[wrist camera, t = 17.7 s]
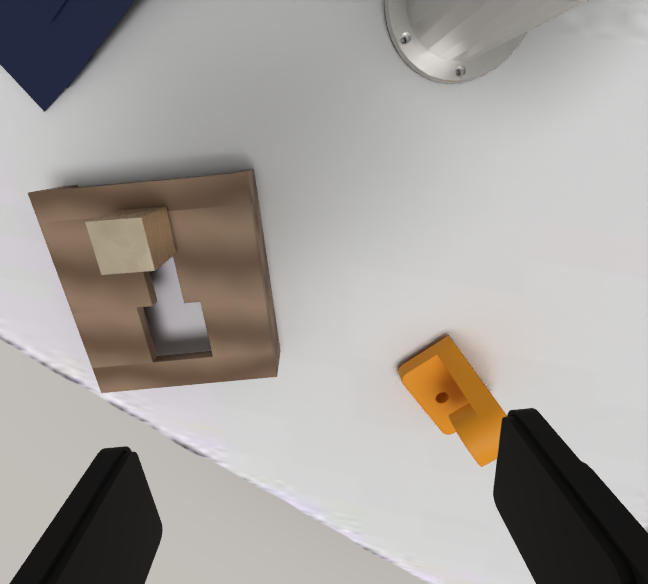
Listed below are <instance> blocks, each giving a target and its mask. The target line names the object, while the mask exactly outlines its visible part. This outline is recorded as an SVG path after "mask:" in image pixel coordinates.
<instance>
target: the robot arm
mask: <svg viewBox="0 0 648 584" xmlns="http://www.w3.org/2000/svg"><path fill="white" fill-rule="evenodd" d="M586 1H588V0H385V16H386V21H387V27H388V31H389V33H390V36H391V39H392V42H393V44H394V46H395V48H396V49H397V51H398V53H399V55H400V56H401V58H402V59H403V60H404V61H405V62H406V63H407V64H408V65H409V67H410V68H412V69H413V70H414V71H416V72H417V73H418V74H420V75H421V76H423V77H425V78H428V79H430V80H432V81H436V82H441V83H462V82H466V81H470V80H474V79H476V78H478V77H481V76H483V75H485V74H487V73H489V72H490V71H492V70H494V69H495V68H497V67H498V66H499V65H500V64H502V63H503V62H504V61H505V60H506V59H507V58H509V56H510V55H511V54H512V53H513V52H514V50H515V49H516V48H517V47H518V46H519V45H520V43H521V41H522V40H523V38H524V37H525V35H526V33H527V32H528V31H529V30H531V29H533V28H535V27H537V26H539V25H541V24H543V23H545V22H547V21H549V20H551V19H552V18H554V17H556V16H558V15H560V14H562V13H564V12H566V11H568V10H570V9H572V8H574V7H576V6H578V5H580V4H582V3H584V2H586ZM401 38H405V39H406V43H405V44H402V43H401ZM456 70H458V71H459V76H457V75H456ZM493 496H494V501H495V504H496V507H497V509H498V511H499V513H500V515H501V517H502V519H503V521H504V523H505V525H506V527H507V528H508V530H509V532H510V534H511V536H512V538H513V540H514V542H515V544H516V546H517V548H518V550H519V552H520V554H521V555H522V557H523V559H524V561H525V563H526V565H527V567H528V569H529V571H530V573H531V575H532V577H533V579H534V581H535V582H536V584H648V533H647V532H646V530H645V529H644V528H643V527H642V526H641V525H640V524H639V522H638V521H637V520H636V519H635V518H634V517H633V516H632V514H631V513H630V512H629V511H628V510H627V509H626V508H625V506H624V505H623V504H622V503H621V502H620V501H619V500H618V498H617V497H616V496H615V495H614V494H613V493H612V492H611V490H610V489H609V488H608V487H607V486H606V485H605V483H604V482H603V481H602V480H601V479H600V478H599V477H598V475H597V474H596V473H595V472H594V471H593V470H592V469H591V468H590V467H589V466H588V465H587V464H586V463H584V462H582V461H580V460H579V458H578V457H577V456H576V455H575V454H574V453H573V451H572V450H571V449H570V448H569V447H568V446H567V444H566V443H565V442H564V441H563V440H562V439H561V437H560V436H559V435H558V434H557V433H556V432H555V430H554V429H553V428H552V427H551V426H550V425H549V423H548V422H547V421H546V420H545V419H544V418H543V416H542V415H541V414H540V413H539V412H538V411H537V410H536V409H534V408H529V409H519V410H510V411H509V412H508V415H507V417H503V418H502V422H501V431H500V439H499V448H498V456H497V465H496V473H495V482H494V490H493ZM161 537H162V523H161V520H160V517H159V514H158V511H157V509H156V506H155V503H154V500H153V497H152V494H151V492H150V489H149V486H148V483H147V480H146V477H145V474H144V472H143V469H142V466H141V463H140V460H139V457H138V455H137V453H136V452H132V451H131V450H130V448H129V447H115V448H104V449H102V450H101V451H100V452H99V453H98V454H97V456H96V457H95V459H94V460H93V461H92V463H91V465H90V466H89V468H88V469H87V470H86V472H85V473H84V475H83V476H82V478H81V479H80V481H79V482H78V484H77V485H76V487H75V488H74V490H73V491H72V493H71V494H70V495H69V497H68V498H67V500H66V501H65V503H64V504H63V506H62V507H61V509H60V510H59V512H58V513H57V515H56V516H55V518H54V519H53V521H52V522H51V523H50V525H49V526H48V528H47V529H46V531H45V532H44V534H43V535H42V537H41V538H40V540H39V541H38V543H37V544H36V546H35V547H34V549H33V550H32V552H31V553H30V555H29V556H28V557H27V559H26V561H25V562H24V563H23V565H22V566H21V568H20V569H19V571H18V572H17V574H16V575H15V577H14V578H13V580H12V581H11V582H10V584H145V581H146V578H147V576H148V573H149V570H150V568H151V565H152V562H153V560H154V557H155V554H156V552H157V549H158V546H159V544H160V541H161Z"/></svg>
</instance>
